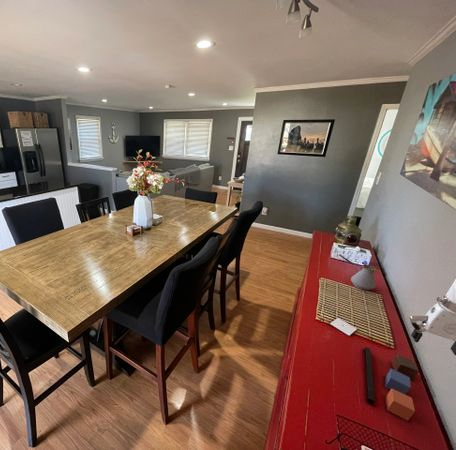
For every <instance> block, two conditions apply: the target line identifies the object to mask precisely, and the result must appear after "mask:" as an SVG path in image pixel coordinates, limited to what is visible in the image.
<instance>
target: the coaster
mask: <svg viewBox="0 0 456 450" xmlns="http://www.w3.org/2000/svg"><path fill="white" fill-rule="evenodd" d="M329 324H330V325H331V326H333V327H334V328H336V329H337V330H339V331H341V332H342V333H344V334H346V335H347V336H351V335H352V334H353V333H354V332H356V331H357V330H358V328H357V327H355V326H353V325H351V324H350V323H348V322H346V321H345V320H343V319H341V318H339V317H337V318H335V319H334V320H333V321H331V322H330V323H329Z"/></svg>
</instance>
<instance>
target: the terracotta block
mask: <svg viewBox="0 0 456 450" xmlns="http://www.w3.org/2000/svg"><path fill="white" fill-rule="evenodd" d="M385 403H386V410H387V411H388V412H389V413H392V414H394V415H396V416H398V417H399V418H401V419H403V420H405V421H407V422H409V420H410V419H411V417H413V415H414V413H415V412H416V410H415V406H414V399H413V398H412V397H411V396H409V395H407V394H406V395H405V394H403V393H400V392H398V391H396V390H394V389H392V388H391V390H390V389H389V392H388V393H387V394H386V397H385Z"/></svg>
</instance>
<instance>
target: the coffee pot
mask: <svg viewBox="0 0 456 450" xmlns="http://www.w3.org/2000/svg"><path fill="white" fill-rule="evenodd" d="M338 257H340V258H342V259H343V260H344V261H345V262H347V263H349V264H350V265H352V266H353V267H354V268H356V269H358V270H359V271H358V272H356V273H355V274H354V275H353V276H351V277H350V281H351V283H352V284H353V286H354V287H356V288H358V289H359V290H362V291H371V290H374V289H375V288H376V287H377V283H376V279H375V277H376V276H375V272H377V270H378V269H377V268H376V267H374V266H372V265H370V264H362V265H361V268H360V267H359V266H357V264H355V263H354V262H352V261H351V260H350V259H348V258H346V257H345V256H344V255H342V254H340V253H339V254H338V255H337V258H338Z"/></svg>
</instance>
